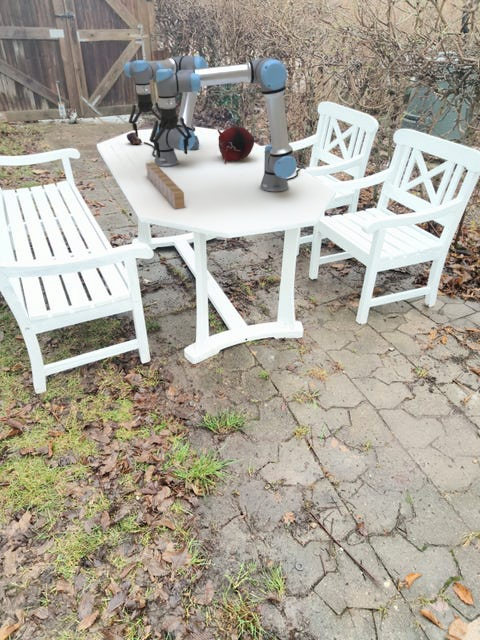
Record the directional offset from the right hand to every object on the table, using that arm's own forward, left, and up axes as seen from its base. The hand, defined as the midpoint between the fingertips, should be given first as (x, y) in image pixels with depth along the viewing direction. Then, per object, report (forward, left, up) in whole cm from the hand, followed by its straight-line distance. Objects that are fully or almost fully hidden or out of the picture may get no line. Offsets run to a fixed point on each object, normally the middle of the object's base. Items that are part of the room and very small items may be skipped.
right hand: (172, 155), depth 218 cm
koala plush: (-91, -75, -25) cm, 120 cm away
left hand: (-24, -41, 0) cm, 47 cm away
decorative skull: (-87, -27, -25) cm, 94 cm away
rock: (-76, -115, -25) cm, 140 cm away
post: (-12, -20, -25) cm, 34 cm away
